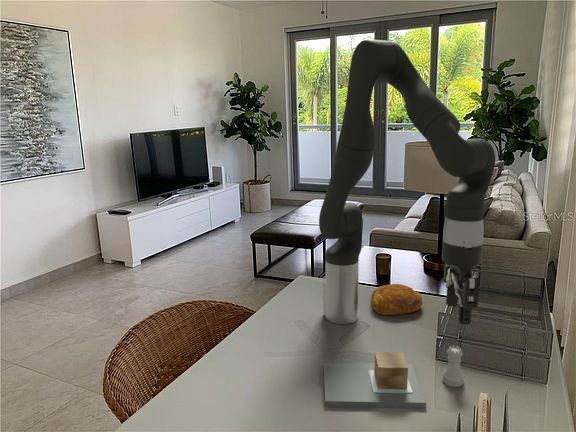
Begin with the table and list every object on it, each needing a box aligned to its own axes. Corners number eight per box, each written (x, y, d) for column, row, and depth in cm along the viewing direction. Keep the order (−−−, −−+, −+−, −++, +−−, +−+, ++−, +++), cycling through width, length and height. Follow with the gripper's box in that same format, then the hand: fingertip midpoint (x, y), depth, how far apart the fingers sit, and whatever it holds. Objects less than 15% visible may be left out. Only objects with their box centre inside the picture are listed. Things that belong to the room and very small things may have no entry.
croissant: (427, 321, 131) (433, 295, 129) (378, 320, 127) (382, 294, 125) (405, 300, 144) (410, 276, 142) (360, 298, 141) (364, 274, 139)
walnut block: (377, 388, 93) (378, 367, 92) (374, 372, 99) (374, 352, 98) (407, 389, 93) (408, 367, 92) (401, 373, 99) (402, 352, 98)
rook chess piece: (465, 389, 95) (468, 355, 93) (443, 387, 96) (445, 353, 94) (461, 377, 99) (464, 344, 98) (440, 375, 100) (442, 342, 98)
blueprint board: (325, 406, 90) (325, 400, 90) (323, 367, 104) (323, 362, 104) (426, 407, 89) (426, 401, 89) (410, 368, 103) (411, 363, 103)
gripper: (434, 230, 97) (430, 300, 101) (454, 250, 84) (449, 330, 87) (469, 230, 97) (464, 300, 101) (495, 250, 83) (489, 330, 87)
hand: (457, 314), depth 94 cm, fingers open, 8 cm apart
